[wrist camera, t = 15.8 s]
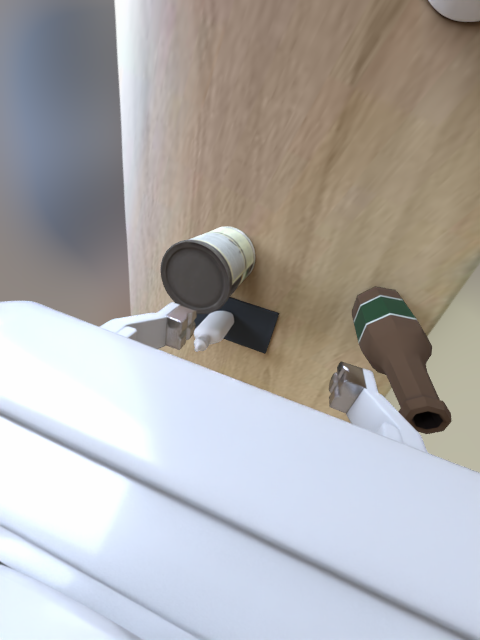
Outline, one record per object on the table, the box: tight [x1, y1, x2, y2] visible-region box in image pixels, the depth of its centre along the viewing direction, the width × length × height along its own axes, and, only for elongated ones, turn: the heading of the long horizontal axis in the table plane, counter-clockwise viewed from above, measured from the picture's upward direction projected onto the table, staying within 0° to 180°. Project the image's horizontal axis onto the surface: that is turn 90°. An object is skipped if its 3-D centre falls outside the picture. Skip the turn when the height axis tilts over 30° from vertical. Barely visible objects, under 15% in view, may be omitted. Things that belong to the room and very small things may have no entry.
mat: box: [194, 297, 279, 353], centre depth 51 cm, size 10×22×1 cm, turn 77°
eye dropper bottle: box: [194, 311, 234, 352], centre depth 45 cm, size 4×6×12 cm
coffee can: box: [161, 227, 255, 314], centre depth 38 cm, size 10×10×14 cm
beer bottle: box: [352, 286, 451, 434], centre depth 31 cm, size 8×8×24 cm
